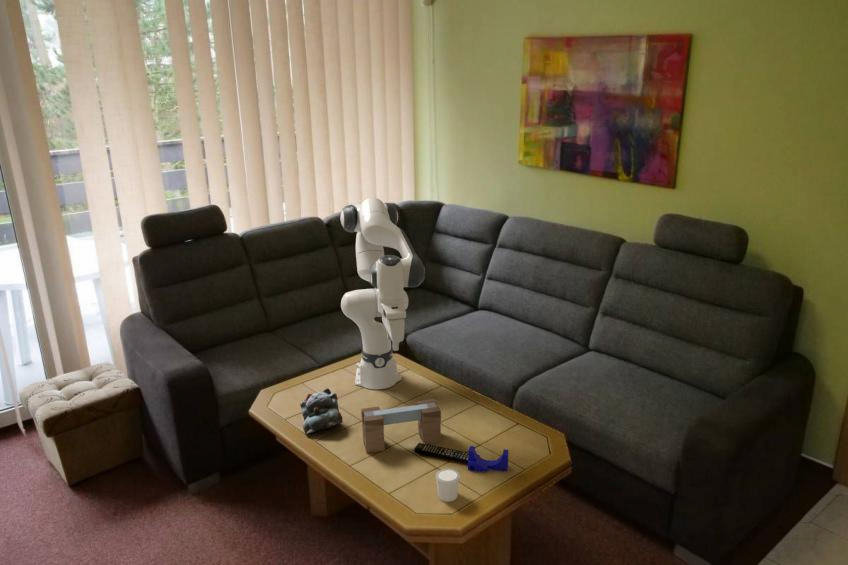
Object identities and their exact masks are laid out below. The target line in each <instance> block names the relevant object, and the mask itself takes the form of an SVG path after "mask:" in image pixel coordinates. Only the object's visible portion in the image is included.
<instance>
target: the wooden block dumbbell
mask: <svg viewBox="0 0 848 565" xmlns="http://www.w3.org/2000/svg"><path fill="white" fill-rule="evenodd" d="M429 403H435V404H436V405H437V401H436V399H434V398H433V399H424V400H418V401H417V402H416V405H422V404H429ZM377 410H381V408H380V406H372V407H364V408H361V409H360V414H361V415H360V416H361V425H362V426H361V427H362V429H361V430H362V442H363V446H364V449H365V453H366V454H367V453H375V452H381V451H385V450H386V449H385V448H386V447H385V432H384V431H385V427H384V426H385V425H384V419H383V416H382V415H377V416H370V417H364V412H370V411H377ZM441 422H442V410H441V408H440V406H437V407H435V408H428V409H421V420H417V425H418V426H417V427H418V436H419V437H420V440H421V442H423V443H430V444H436V443H441V442H442V440H441V439H442V436H441V435H442V434H441V432H442V431H441V430H442V427H441V426H442V425H441ZM423 443H422V444H423Z"/></svg>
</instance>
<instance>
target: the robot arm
mask: <svg viewBox="0 0 848 565" xmlns="http://www.w3.org/2000/svg"><path fill="white" fill-rule="evenodd" d="M341 209H342V210H341V213H340V216H339V217H340V224H341V226H342V228H343V230H344V231H345V232H348V233H354V232H355V233H356V235H355V236H356V237H355V258H356V259H355V261H356V268H357V269H356V271H357V274H358V276H359V277H360V279H362V280H364V281H367V282H368V283H369V284H370V285H371V287H373V288H365V289H364V288H363V289H362V288H361V289H355V290H350V291H347V292H345V293H344V294H343V296H342V298H341V301H340V308H341V311H342V312H343V314H344V315H345V316H346V317H347V318H348V319H350V320H351V321H352V322H354V323H355V324H356V325H357V327H358V329H359V331H360V334H361V342H362V349H361V359H360V362H357V363H356V372H355V379H354V385H355V386H358V387H363V388H366V389H368V390H384V389H389V388H391V387H393V386H394V385H396V383H397V382H400V381H401V380H403V379H402V376H401V374H400V373H399V372H398V365H397V363H398V362H397V360H395V359H394V358H393V351H394V352H397V351H399V349H400V348H399V346H400V343H401V342H403V341H404V339H405V323H406V322H405V318H407V311H406V310H407V309H408V306H409V296H408V294H407V292H406V291H405V290H404V288H417V287H419V286H420V285H421V284H422V283H423V282H424V280H425V278H426V271H425V270H426V269H425V266H424V264H423V262H422V260H421V258H419V256H418V254H417V253H416V251H415V249H414V247H413V245H412V243H411V241H410V240H409V238H408V236H407V234H406V232H405V231H404V230H403V229H402V228H401V227H398V226H397V225H398V220H399V213H398V210H397V207H396V205H394V204H393V203H388V202H385V203H384V202H383V201H382V200H381V199H379V198H377V197H368V198H366V199H365V200H364V201H362V202H361V203H360V204H348V205H346V206H344V207H343V208H341ZM384 247H385V248H390V249H391V248H392V249H394V250H396V251H398V252H399V253H400V256H401V258H400V257H399V256H397V255H394V254H386V255H385V250H384ZM377 317H378V318H379V317H381V320H382V323H381V322H379V321H377V320H375V318H377Z"/></svg>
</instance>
